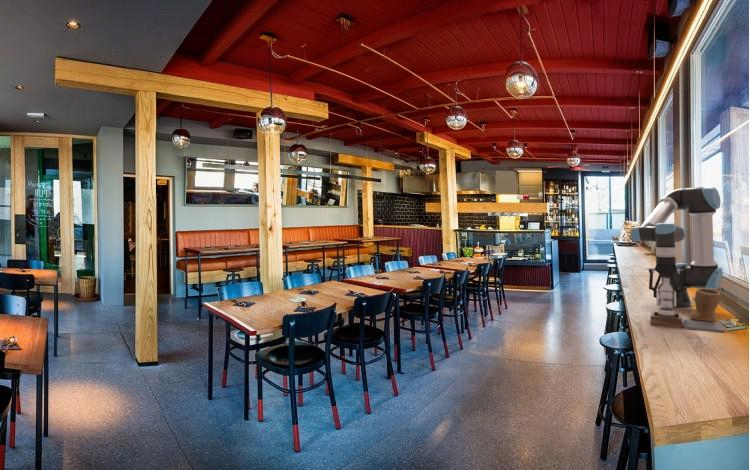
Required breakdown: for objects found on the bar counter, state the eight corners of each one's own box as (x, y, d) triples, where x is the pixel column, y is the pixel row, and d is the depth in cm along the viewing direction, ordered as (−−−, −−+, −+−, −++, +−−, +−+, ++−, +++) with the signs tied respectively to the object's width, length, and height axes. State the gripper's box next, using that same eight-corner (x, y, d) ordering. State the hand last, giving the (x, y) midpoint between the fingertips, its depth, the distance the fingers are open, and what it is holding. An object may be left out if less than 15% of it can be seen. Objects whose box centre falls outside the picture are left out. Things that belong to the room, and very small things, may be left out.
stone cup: (719, 324, 191) (719, 292, 191) (687, 321, 200) (687, 289, 199) (722, 318, 202) (722, 287, 202) (691, 315, 211) (691, 285, 210)
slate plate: (683, 321, 199) (683, 319, 199) (721, 325, 190) (721, 323, 190) (683, 328, 187) (683, 326, 187) (724, 332, 179) (724, 330, 179)
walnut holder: (651, 319, 205) (651, 311, 205) (681, 322, 198) (681, 313, 198) (650, 324, 195) (650, 316, 195) (682, 327, 188) (682, 318, 188)
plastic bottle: (678, 321, 194) (678, 278, 193) (663, 321, 194) (663, 278, 193) (669, 317, 200) (669, 276, 199) (654, 318, 200) (654, 276, 199)
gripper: (641, 256, 198) (641, 305, 199) (691, 257, 187) (692, 308, 188) (642, 255, 204) (642, 302, 205) (691, 255, 193) (691, 305, 194)
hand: (666, 305), depth 197 cm, fingers closed on plastic bottle, 6 cm apart
